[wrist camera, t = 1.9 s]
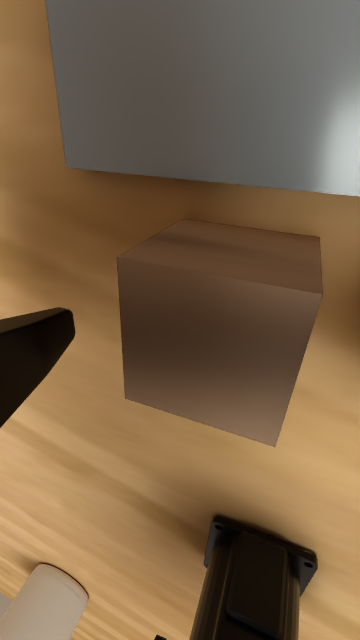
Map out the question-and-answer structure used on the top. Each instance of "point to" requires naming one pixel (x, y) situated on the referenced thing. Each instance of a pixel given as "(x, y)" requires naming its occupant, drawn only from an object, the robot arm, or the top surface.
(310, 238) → the walnut block
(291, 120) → the plate
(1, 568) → the top surface
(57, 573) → the pill bottle
